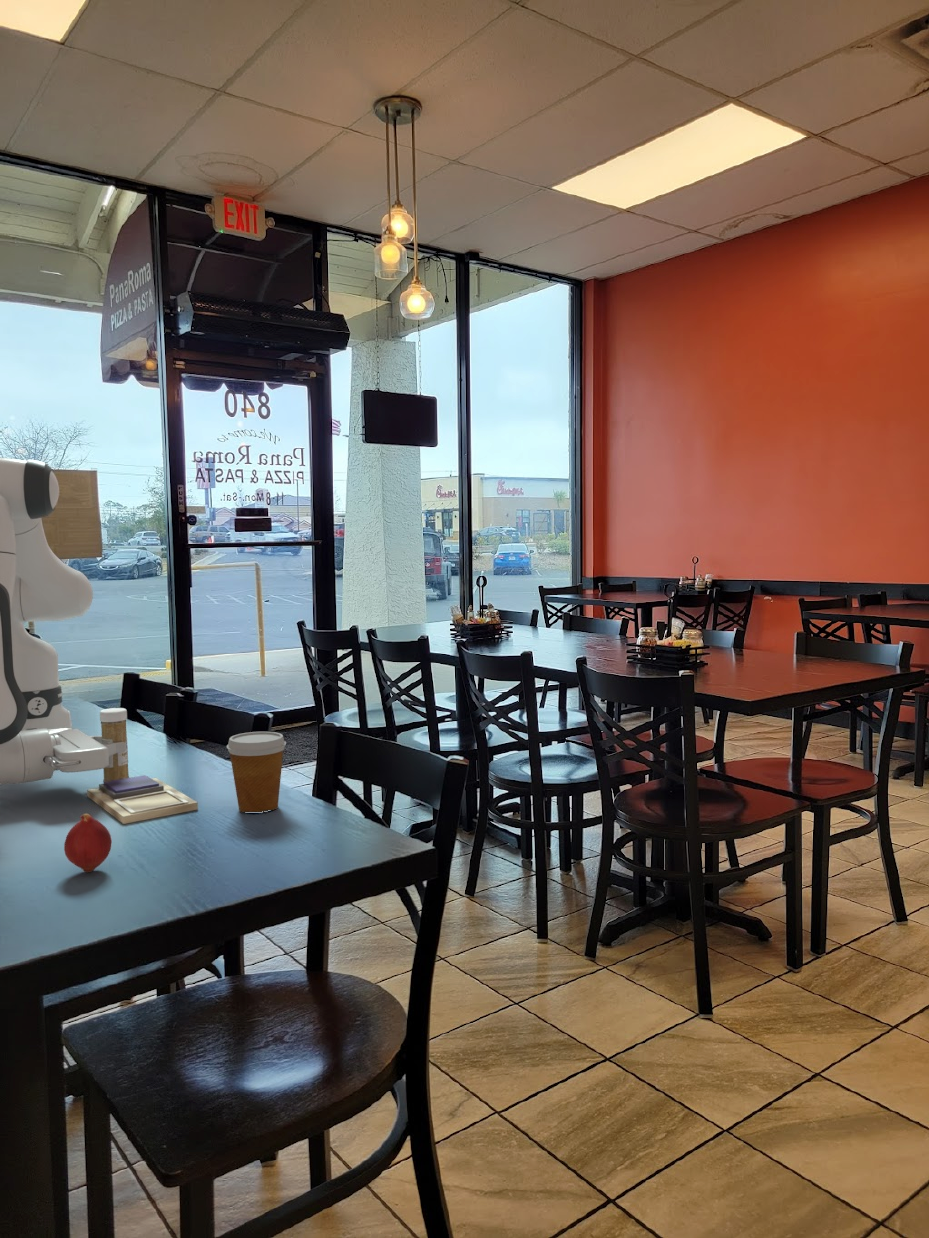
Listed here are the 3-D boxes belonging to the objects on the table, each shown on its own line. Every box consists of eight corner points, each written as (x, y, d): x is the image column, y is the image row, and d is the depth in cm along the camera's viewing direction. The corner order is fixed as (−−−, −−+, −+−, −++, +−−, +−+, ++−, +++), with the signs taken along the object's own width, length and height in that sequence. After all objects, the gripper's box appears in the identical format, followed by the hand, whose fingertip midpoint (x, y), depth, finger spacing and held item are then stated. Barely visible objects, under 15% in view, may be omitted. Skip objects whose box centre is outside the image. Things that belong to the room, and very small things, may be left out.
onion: (78, 863, 123) (75, 806, 122) (119, 863, 123) (117, 806, 122) (57, 879, 117) (54, 819, 117) (101, 879, 117) (98, 819, 116)
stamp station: (87, 796, 156) (86, 782, 156) (156, 784, 163) (155, 771, 163) (123, 823, 140) (122, 809, 140) (197, 809, 148) (197, 795, 147)
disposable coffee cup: (216, 814, 145) (214, 741, 144) (250, 798, 154) (248, 729, 153) (267, 819, 142) (265, 745, 141) (298, 803, 151) (296, 733, 150)
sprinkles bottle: (132, 783, 162) (129, 710, 161) (105, 787, 160) (102, 712, 158) (126, 777, 166) (123, 706, 165) (100, 781, 163) (97, 708, 162)
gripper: (51, 748, 146) (137, 736, 154) (23, 726, 162) (102, 717, 170) (53, 785, 146) (139, 771, 155) (25, 761, 162) (104, 749, 171)
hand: (119, 743), depth 163 cm, fingers closed on sprinkles bottle, 4 cm apart
